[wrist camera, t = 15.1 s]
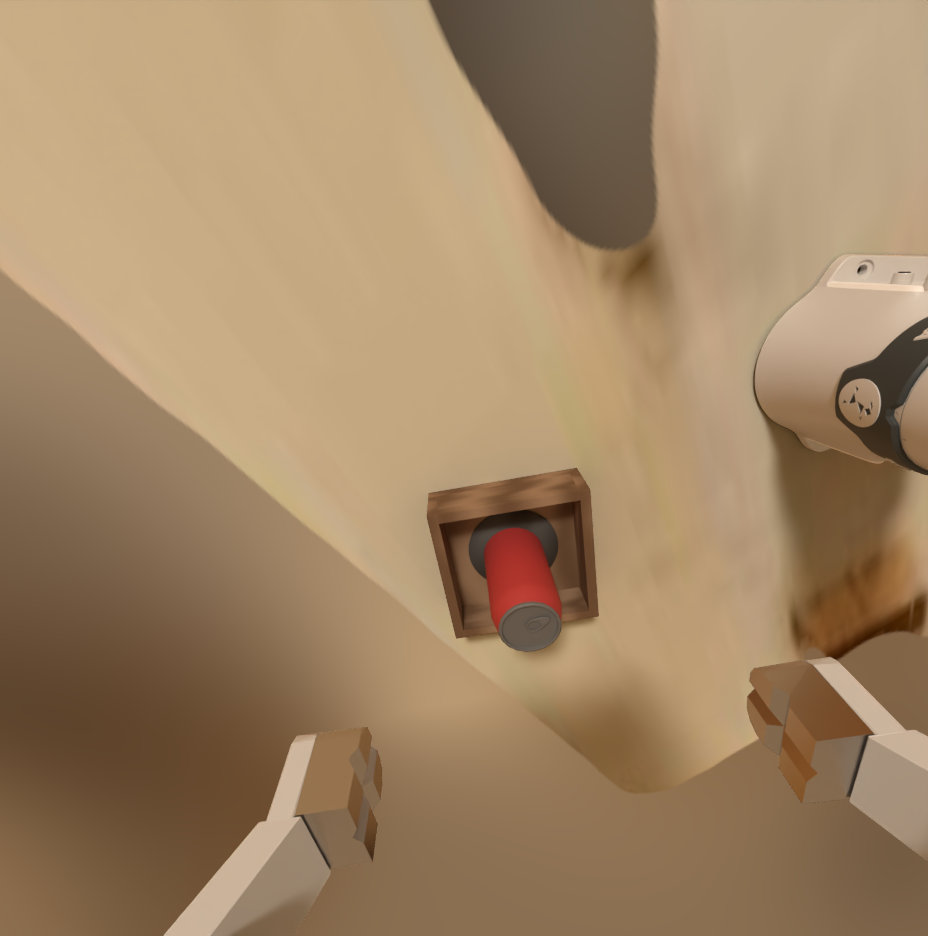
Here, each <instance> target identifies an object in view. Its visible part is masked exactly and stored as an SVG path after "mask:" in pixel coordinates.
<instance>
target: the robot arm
mask: <svg viewBox="0 0 928 936" xmlns="http://www.w3.org/2000/svg"><path fill="white" fill-rule="evenodd" d="M859 267H861V269H860V272H859V273H857V270H858V268H859ZM755 390H756V395H757V398H758V401H759V403H760V405H761V407H762V409H763V411H764V412H765V413H766V414H767V415H768V417H769V418H771V419H772V420H773V421H774V422H776V423H777V424H779V425H781V426H783V427H785V428H788V429H790V430H791V431H793V432H794V433H796V435H797V437H798V438H799V440H800V441H801V442H802V444H803V445H804V446H805V447H806V448H808V449H810V450H813V451H816V452H822V451H826V450H829V449H835V450H838V451H840V452H843V453H846V454H849V455H851V456H854V457H857V458H859V459H862V460H865V461H868V462H871V463H876V464H881V463H883V462H884V461H889V462H891V463H892V464H895V465H897V466H899V467H902V468H905V469H908V470H913V471H915V472H918V473H921V474H924V475H928V256H914V255H871V254H845V255H842V256H840V257H838V258H837V259H836V260H835V261H834V262H833V263H832V264H831V265H830V267H829V268H828V269H827V271H826V272H825V273H824V275H823V276H822V278H821V279H820V281H819V282H818V284H817V285H816V287H815V288H814V289H813V290H812V291H811V292H809V293H808V294H807V295H806V296H805V297H803V298H802V299H801V300H800V301H798V302H797V303H796V304H795V305H794V306H792V307H791V308H790V309H789V310H788V311H787V312H786V313H785V314H784V315H783V316H782V317H781V319H780V320H779V321H778V322H777V323H776V325H775V326H774V327H773V329H772V330H771V332H770V333H769V335H768V337H767V339H766V340H765V342H764V344H763V347H762V349H761V351H760V354H759V357H758V361H757V365H756V370H755ZM749 681H750V683H751V684H752V686H753V687H754V688H755V689H754V690H753V691H752V692H751V693H750V694H749V695H748V696H747V711H748V714H749V718H750V722H751V724H752V726H753V728H754V730H755V732H756V734H757V736H758V737H759V739H760V740H761V742H762V743H763V745H764V746H765V747H767V748H768V749H770V750H771V751H773V752H774V753H776V754H777V755H779V767H778V768H779V770H780V771H781V773H782V774H783V776H784V777H785V779H786V780H787V782H788V783H789V785H790V786H791V788H792V789H793V791H794V792H795V794H796V795H797V797H798V798H799V800H800V802H801V803H802V804H806V803H816V802H826V801H835V800H845V799H850V801H849V802H850V803H852V804H853V805H854V806H856V807H857V808H858V809H859V810H861V811H862V812H863V813H865V814H866V815H867V816H869V817H870V818H871V819H872V820H874V821H875V822H876V823H878V824H879V825H880V826H882V827H883V828H884V829H886V830H887V831H888V832H889V833H891V834H892V835H893V836H895V837H896V838H897V839H899V840H900V841H901V842H903V843H904V844H905V845H906V846H908V847H909V848H911V849H912V850H913V851H914V852H916V853H917V854H918V855H920V856H921V857H922V858H924V859H925V860H926V861H928V736H926V735H924V734H922V733H920V732H918V731H917V730H905V729H904V728H903V727H902V725H901V724H900V723H899V722H897V720H895V718H894V717H893V716H891V714H890V713H889V712H888V711H887V710H886V709H885V708H884V707H883V706H881V704H880V703H879V702H878V701H877V700H876V699H875V698H874V697H873V696H872V695H871V694H870V693H869V692H868V691H867V690H866V689H865V688H864V687H863V686H862V685H861V684H860V683H859V682H858V681H857V680H856V679H855V678H854V677H853V676H852V675H851V674H850V673H849V672H848V671H847V670H846V669H845V668H844V667H843V666H842V665H841V664H840V663H839V662H838V661H837V660H835V659H833V658H831V657H824V658H819V659H813V660H806V661H795V662H789V663H782V664H776V665H770V666H764V667H758V668H754V669H753V670H752V671H751V673H750V679H749ZM371 740H372V736H371V733H370V731H369V729H368V727H362V728H354V729H346V730H339V731H331V732H323V733H314V734H307V735H300V736H297V737H296V739H295V740H294V741H293V743H292V744H291V747H290V750H289V753H288V756H287V759H286V762H285V766H284V768H283V772H282V775H281V778H280V781H279V784H278V787H277V790H276V793H275V796H274V799H273V802H272V805H271V808H270V811H269V815H268V817H267V820H266V821H263V822H259V823H258V824H257V825H256V827H255V828H254V829H253V830H252V831H251V833H250V834H249V835H248V836H247V837H246V839H245V840H244V841H243V842H242V843H241V844H240V846H239V847H238V848H237V849H236V850H235V851H234V853H233V854H232V855H231V856H230V857H229V859H228V860H227V861H226V862H225V863H224V864H223V866H222V867H221V868H220V869H219V870H218V872H217V873H216V874H215V875H214V876H213V878H212V879H211V880H210V881H209V882H208V883H207V885H206V886H205V887H204V888H203V889H202V891H201V892H200V893H199V894H198V895H197V896H196V898H195V899H194V900H193V901H192V903H191V904H190V905H189V906H188V907H187V909H186V910H185V911H184V912H183V913H182V914H181V915H180V917H179V918H178V919H177V920H176V921H175V923H174V924H173V925H172V926H171V927H170V929H169V930H168V931H167V932H166V933H165V934H164V936H295V934H296V932H297V931H298V929H299V927H300V926H301V924H302V922H303V921H304V919H305V917H306V915H307V914H308V912H309V910H310V908H311V907H312V905H313V903H314V901H315V900H316V898H317V896H318V894H319V893H320V891H321V889H322V887H323V886H324V884H325V882H326V880H327V879H328V877H329V875H330V874H331V871H330V870H331V869H336V868H342V867H348V866H354V865H360V864H366V863H372V862H373V856H374V847H375V840H376V833H377V821H376V819H375V817H374V814H373V810H374V809H375V807H376V806H377V804H378V803H379V801H380V800H381V791H382V766H381V760H380V756H379V754H378V751H377V750H376V749H374V748H373V747H371Z"/></svg>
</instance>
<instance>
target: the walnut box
mask: <svg viewBox="0 0 928 936" xmlns="http://www.w3.org/2000/svg"><path fill="white" fill-rule="evenodd" d="M427 520H428V524H429V528H430V532H431V537H432V541H433V545H434V549H435V553H436V557H437V561H438V565H439V570H440V574H441V578H442V582H443V586H444V590H445V594H446V598H447V603H448V607H449V611H450V615H451V619H452V623H453V627H454V631H455V636H456V639H457V638H463V637H469V636H476V635H482V634H489V633H495V632H498V631H497V629H496V627H495V625H494V623H493V621H492V618H491V611H490V603H489V594H488V586H487V578H486V570H485V562H484V549H485V546H486V544H487V542H488V541H489V540H490V538H491V537H492V536H493V535H495V534H496V533H498V532H499V531H502V530H504V529H507V528H522V529H526V530H528V531H530V532H532V533H534V534H535V535H536V536H537V537H538V538H539V539H540V541H541V544H542V546H543V549H544V552H545V555H546V558H547V561H548V564H549V567H550V570H551V573H552V576H553V579H554V582H555V585H556V588H557V591H558V594H559V597H560V600H561V603H562V618H561V622H565V621H572V620H578V619H585V618H591V617H597V616H599V613H598V599H597V584H596V569H595V554H594V539H593V524H592V509H591V494H590V488H589V487H588V485H587V484H586V482H585V480H584V479H583V477H582V476H581V474H580V472H579V471H578V469H577V468H574V469H568V470H562V471H557V472H551V473H545V474H539V475H533V476H527V477H521V478H516V479H510V480H504V481H498V482H492V483H486V484H480V485H475V486H469V487H463V488H457V489H451V490H445V491H439V492H434V493H429V497H428V509H427Z"/></svg>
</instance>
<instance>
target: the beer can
mask: <svg viewBox="0 0 928 936" xmlns="http://www.w3.org/2000/svg"><path fill="white" fill-rule="evenodd" d="M484 562H485V570H486V578H487V586H488V594H489V603H490V611H491V618H492V621H493V623H494V625H495V627H496V629H497V631H498V632H499V635H500V637H501V639H502V641H503V642H504V643H505V644H506V645H507V646H508V647H510V648H513V649H515V650H518V651H525V652H529V651H537V650H540V649H543V648H545V647H547V646H548V645H550V644H552V643H553V642H554V641H555V640H556V639H557V637H558V636H559V634H560V631H561V618H562V603H561V600H560V597H559V594H558V591H557V588H556V585H555V582H554V579H553V576H552V573H551V570H550V567H549V564H548V561H547V558H546V555H545V552H544V549H543V546H542V544H541V541H540V539H539V538H538V537H537V536H536V535H535V534H534V533H532V532H530V531H528V530H526V529H522V528H507V529H504V530H502V531H499V532H498V533H496V534H495V535H493V536H492V537H491V538H490V540H489V541H488V542H487V544H486V546H485V549H484Z"/></svg>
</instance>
